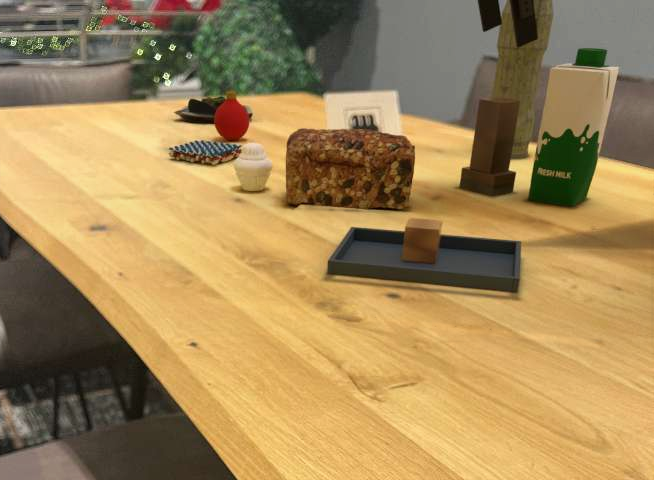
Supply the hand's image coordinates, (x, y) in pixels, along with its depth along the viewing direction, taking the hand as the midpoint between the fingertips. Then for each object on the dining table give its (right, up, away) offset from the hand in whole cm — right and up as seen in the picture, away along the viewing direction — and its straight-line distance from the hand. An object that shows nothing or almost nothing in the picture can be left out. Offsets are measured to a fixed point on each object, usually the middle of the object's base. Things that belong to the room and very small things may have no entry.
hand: (509, 35), depth 107 cm
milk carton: (+11, -19, +11) cm, 24 cm away
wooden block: (-15, -36, -15) cm, 42 cm away
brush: (+1, -15, +16) cm, 22 cm away
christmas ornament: (-42, +8, +48) cm, 64 cm away
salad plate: (-47, +23, +70) cm, 87 cm away
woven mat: (-46, -2, +34) cm, 57 cm away
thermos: (+11, +1, +39) cm, 41 cm away
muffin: (-37, -16, +15) cm, 43 cm away
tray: (-15, -38, -16) cm, 44 cm away
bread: (-22, -20, +9) cm, 31 cm away
